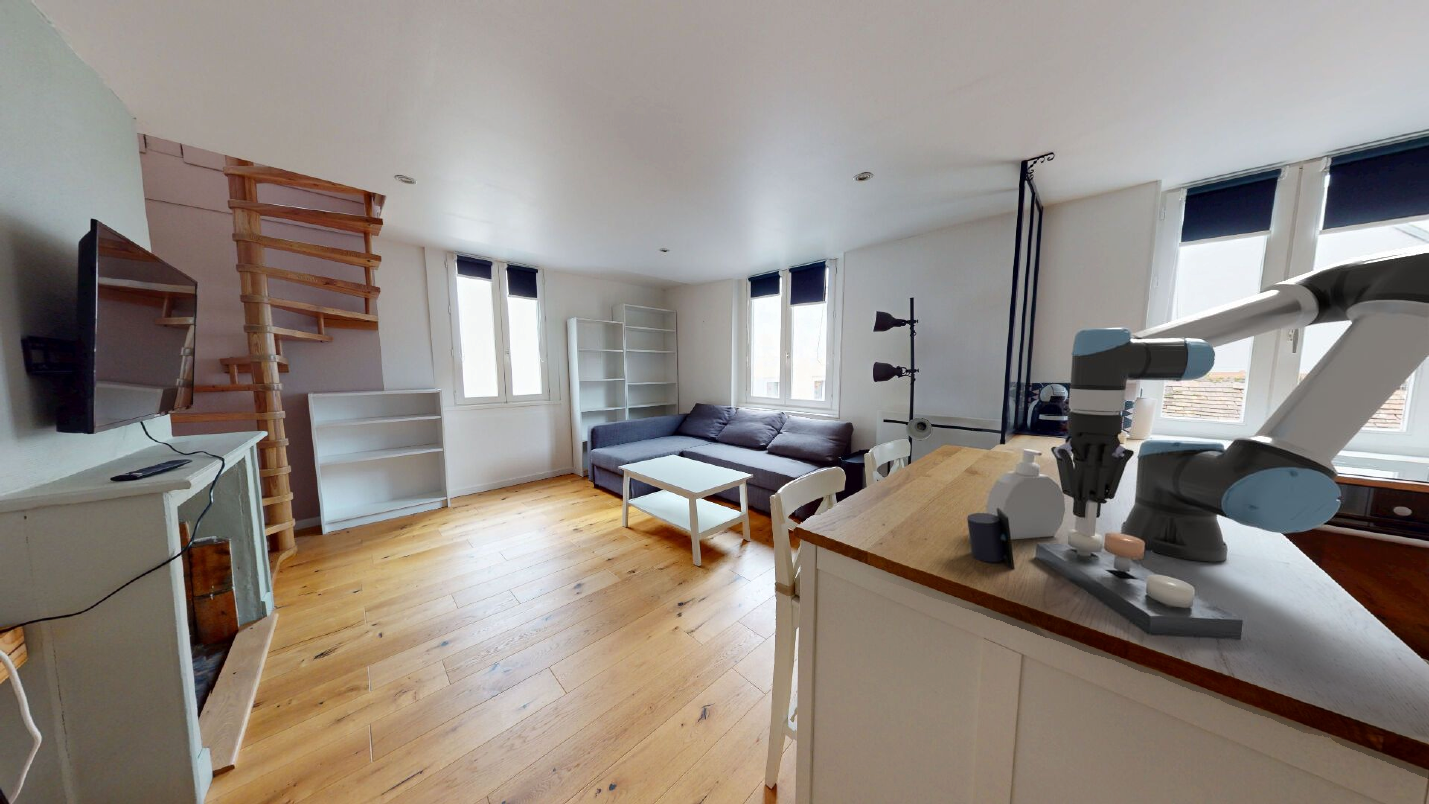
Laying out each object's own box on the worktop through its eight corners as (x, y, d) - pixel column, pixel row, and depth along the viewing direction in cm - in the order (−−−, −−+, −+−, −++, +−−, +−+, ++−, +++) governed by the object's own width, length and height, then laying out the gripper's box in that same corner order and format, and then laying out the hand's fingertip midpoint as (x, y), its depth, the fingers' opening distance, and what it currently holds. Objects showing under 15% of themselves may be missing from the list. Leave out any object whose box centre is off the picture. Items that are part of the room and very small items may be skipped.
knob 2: (1168, 607, 64) (1171, 575, 64) (1201, 627, 59) (1204, 592, 59) (1135, 606, 65) (1138, 574, 64) (1165, 625, 60) (1168, 590, 59)
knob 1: (1086, 556, 80) (1088, 529, 79) (1107, 568, 75) (1109, 540, 75) (1060, 555, 80) (1062, 528, 80) (1079, 567, 76) (1081, 539, 75)
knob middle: (1124, 562, 72) (1126, 533, 71) (1150, 576, 67) (1153, 545, 67) (1095, 561, 72) (1097, 532, 72) (1119, 575, 68) (1121, 544, 67)
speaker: (1016, 557, 82) (1012, 507, 81) (1014, 569, 78) (1010, 518, 77) (972, 550, 87) (968, 503, 86) (968, 561, 83) (964, 512, 82)
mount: (1098, 558, 81) (1100, 544, 81) (1241, 639, 58) (1243, 619, 57) (1035, 556, 83) (1036, 542, 82) (1149, 635, 59) (1150, 615, 58)
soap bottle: (1003, 541, 90) (1008, 454, 88) (984, 531, 95) (988, 449, 93) (1065, 536, 92) (1071, 451, 90) (1043, 527, 97) (1049, 446, 95)
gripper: (1115, 409, 78) (1104, 526, 80) (1043, 409, 79) (1034, 524, 82) (1152, 414, 71) (1140, 543, 73) (1072, 414, 72) (1062, 540, 74)
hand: (1084, 533), depth 77 cm, fingers closed
